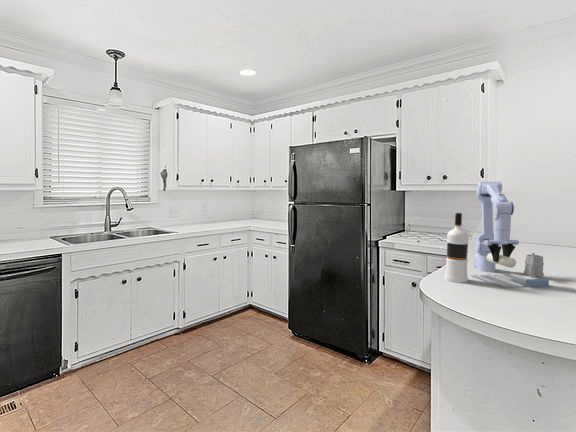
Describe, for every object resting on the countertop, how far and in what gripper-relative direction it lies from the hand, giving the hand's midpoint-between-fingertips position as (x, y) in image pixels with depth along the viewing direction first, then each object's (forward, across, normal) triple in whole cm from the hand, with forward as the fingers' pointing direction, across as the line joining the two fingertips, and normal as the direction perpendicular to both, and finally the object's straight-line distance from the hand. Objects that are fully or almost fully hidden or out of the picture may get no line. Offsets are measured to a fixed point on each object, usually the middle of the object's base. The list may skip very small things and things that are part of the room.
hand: (500, 261), depth 148 cm
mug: (+10, +22, +7) cm, 25 cm away
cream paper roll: (+1, 0, 0) cm, 1 cm away
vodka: (+10, -18, +4) cm, 20 cm away
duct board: (+9, +4, 0) cm, 10 cm away
